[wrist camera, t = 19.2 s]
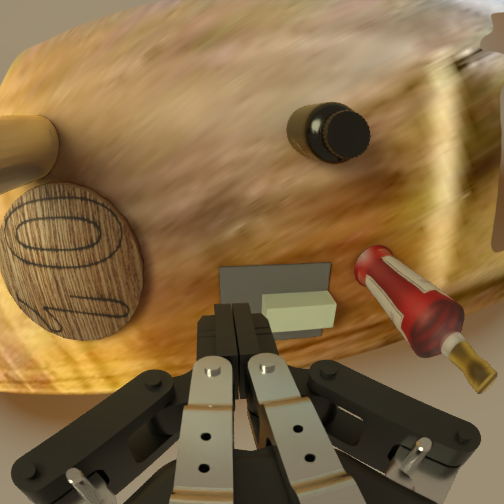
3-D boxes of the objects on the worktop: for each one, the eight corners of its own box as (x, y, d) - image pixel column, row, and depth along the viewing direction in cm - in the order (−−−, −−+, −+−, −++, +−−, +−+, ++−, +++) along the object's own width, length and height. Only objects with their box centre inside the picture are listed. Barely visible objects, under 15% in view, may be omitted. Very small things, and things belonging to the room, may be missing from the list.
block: (265, 332, 44) (333, 327, 45) (266, 308, 43) (337, 303, 44) (261, 317, 48) (325, 312, 49) (262, 294, 46) (328, 290, 48)
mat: (222, 341, 49) (222, 343, 49) (219, 266, 44) (219, 267, 44) (320, 334, 51) (320, 335, 51) (329, 262, 46) (330, 263, 46)
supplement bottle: (284, 155, 40) (312, 166, 29) (286, 103, 37) (315, 94, 26) (334, 158, 41) (376, 171, 30) (337, 108, 38) (381, 104, 27)
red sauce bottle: (398, 258, 48) (518, 365, 22) (368, 292, 49) (469, 417, 23) (372, 231, 45) (506, 339, 19) (340, 268, 47) (447, 402, 21)
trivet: (157, 333, 48) (155, 341, 46) (28, 331, 45) (24, 338, 43) (134, 171, 38) (130, 173, 37) (-10, 193, 36) (-16, 195, 34)
